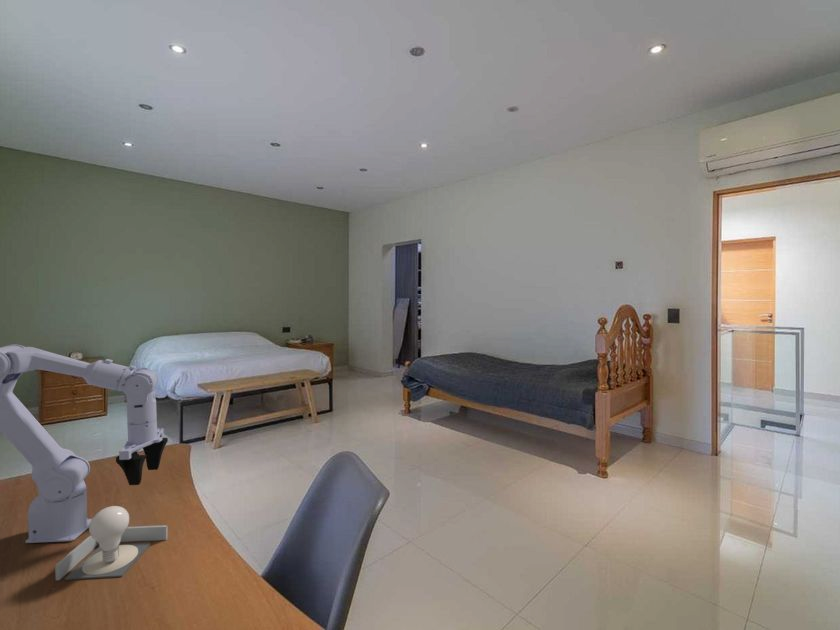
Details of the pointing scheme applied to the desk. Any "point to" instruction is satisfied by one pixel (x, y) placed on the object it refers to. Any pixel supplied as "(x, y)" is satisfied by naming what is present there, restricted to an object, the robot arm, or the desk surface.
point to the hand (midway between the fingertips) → (144, 476)
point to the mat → (109, 563)
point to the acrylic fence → (89, 543)
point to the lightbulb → (109, 530)
